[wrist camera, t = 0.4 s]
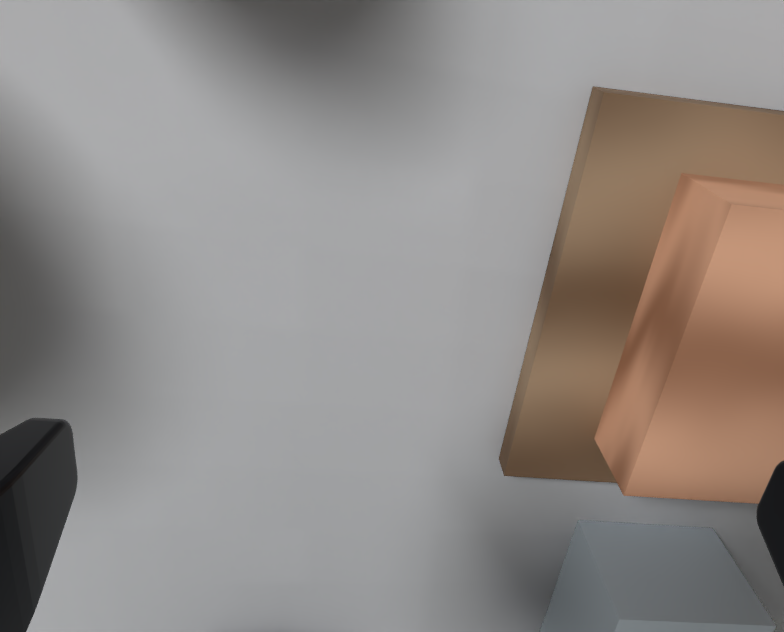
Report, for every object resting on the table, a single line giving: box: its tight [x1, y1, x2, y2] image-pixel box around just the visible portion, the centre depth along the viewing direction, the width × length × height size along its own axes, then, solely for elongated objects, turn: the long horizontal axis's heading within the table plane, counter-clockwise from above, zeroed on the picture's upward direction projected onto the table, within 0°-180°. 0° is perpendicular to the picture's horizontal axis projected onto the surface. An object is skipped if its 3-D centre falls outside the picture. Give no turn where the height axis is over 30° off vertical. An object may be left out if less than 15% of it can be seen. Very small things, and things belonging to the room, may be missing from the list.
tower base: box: [499, 87, 784, 504], centre depth 22 cm, size 14×14×4 cm
